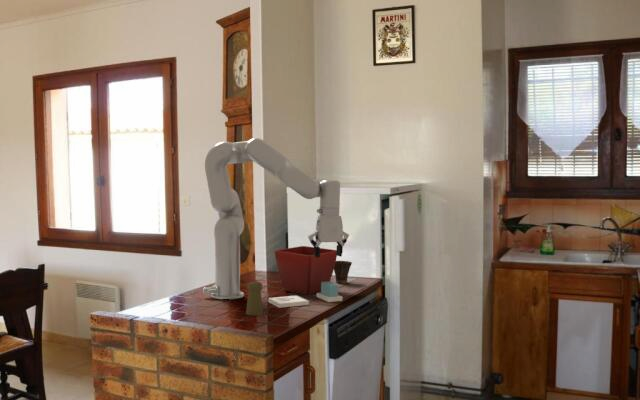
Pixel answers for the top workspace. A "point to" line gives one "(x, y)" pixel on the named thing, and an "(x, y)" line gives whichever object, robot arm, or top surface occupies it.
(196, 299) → the top surface
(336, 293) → the stub
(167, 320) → the top surface
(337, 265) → the cup
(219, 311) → the top surface
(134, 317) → the top surface
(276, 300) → the white flat slab
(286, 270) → the plant pot
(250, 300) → the olive green pepper shaker
